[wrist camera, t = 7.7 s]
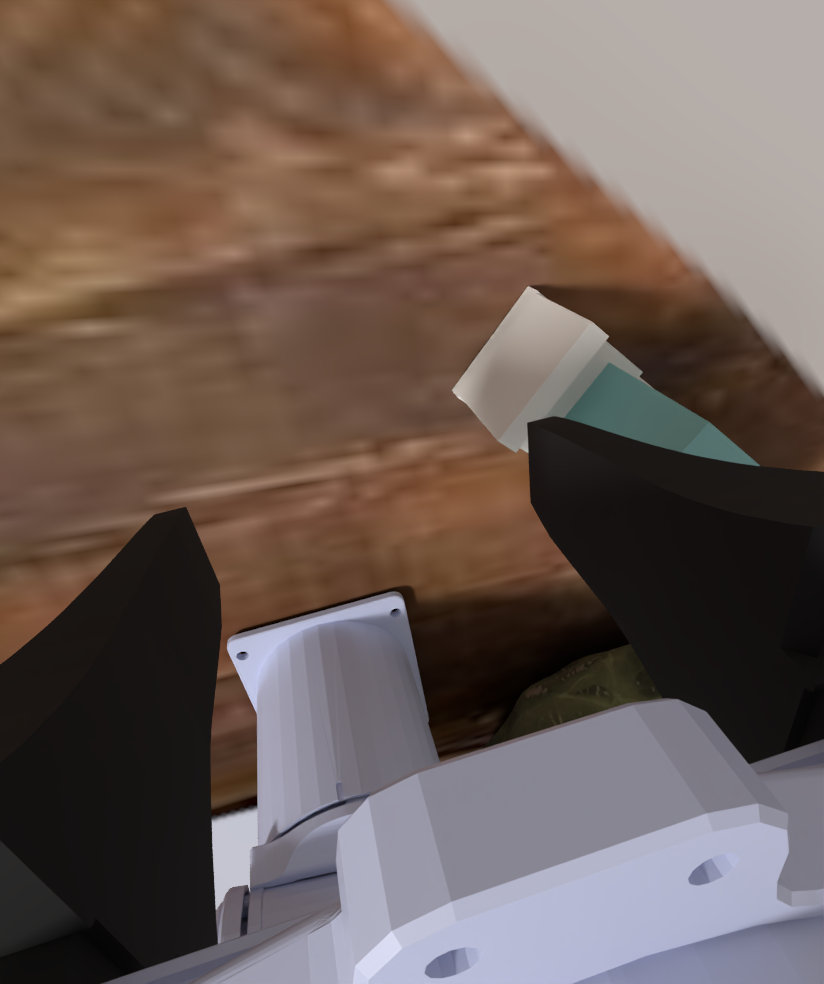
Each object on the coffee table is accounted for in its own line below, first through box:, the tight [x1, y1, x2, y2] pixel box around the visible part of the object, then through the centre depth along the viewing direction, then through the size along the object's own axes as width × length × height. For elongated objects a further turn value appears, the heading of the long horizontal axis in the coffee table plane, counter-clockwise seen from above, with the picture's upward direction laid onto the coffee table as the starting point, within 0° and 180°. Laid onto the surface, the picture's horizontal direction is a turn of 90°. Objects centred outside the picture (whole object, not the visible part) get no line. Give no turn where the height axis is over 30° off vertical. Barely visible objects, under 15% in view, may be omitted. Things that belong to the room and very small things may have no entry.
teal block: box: [564, 362, 760, 466], centre depth 20 cm, size 9×4×5 cm, turn 54°
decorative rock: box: [483, 644, 662, 749], centre depth 30 cm, size 15×16×10 cm
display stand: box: [452, 286, 654, 453], centre depth 22 cm, size 12×5×5 cm, turn 54°
